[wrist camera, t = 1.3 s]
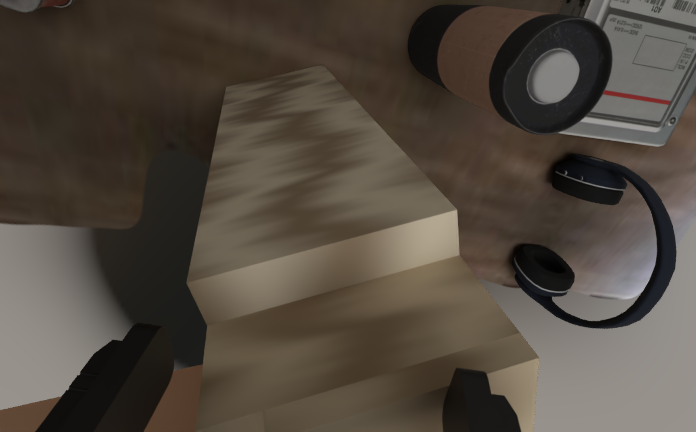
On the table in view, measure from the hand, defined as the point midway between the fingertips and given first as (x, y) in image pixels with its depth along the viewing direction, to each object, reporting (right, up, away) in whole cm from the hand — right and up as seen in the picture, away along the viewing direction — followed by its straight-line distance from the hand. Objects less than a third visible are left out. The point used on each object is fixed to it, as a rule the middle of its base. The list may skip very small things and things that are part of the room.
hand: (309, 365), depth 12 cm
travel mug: (+11, +22, +33) cm, 41 cm away
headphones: (+29, +4, +47) cm, 55 cm away
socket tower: (-5, +13, +34) cm, 37 cm away
